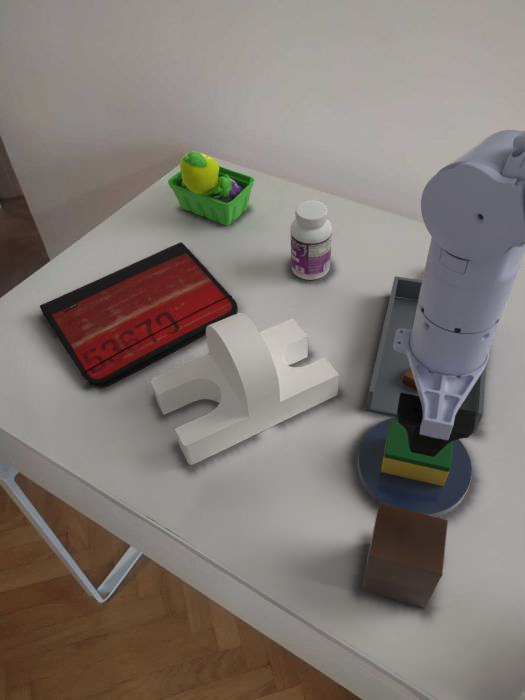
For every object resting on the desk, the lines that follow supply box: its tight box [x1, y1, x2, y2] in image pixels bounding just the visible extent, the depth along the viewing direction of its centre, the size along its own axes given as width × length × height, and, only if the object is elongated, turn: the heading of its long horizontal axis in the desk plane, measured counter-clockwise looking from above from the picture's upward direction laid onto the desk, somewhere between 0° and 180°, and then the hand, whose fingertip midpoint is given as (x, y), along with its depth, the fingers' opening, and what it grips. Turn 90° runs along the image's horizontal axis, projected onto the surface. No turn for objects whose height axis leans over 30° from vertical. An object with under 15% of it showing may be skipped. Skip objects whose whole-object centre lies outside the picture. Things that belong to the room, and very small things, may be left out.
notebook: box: [39, 241, 239, 388], centre depth 73 cm, size 16×2×21 cm
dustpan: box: [365, 275, 487, 434], centre depth 68 cm, size 25×12×3 cm, turn 163°
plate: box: [357, 416, 473, 518], centre depth 57 cm, size 11×11×1 cm
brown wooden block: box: [361, 503, 449, 609], centre depth 48 cm, size 4×6×8 cm
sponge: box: [381, 420, 453, 486], centre depth 56 cm, size 4×6×4 cm, turn 73°
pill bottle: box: [290, 199, 333, 281], centre depth 75 cm, size 5×5×10 cm
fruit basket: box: [167, 150, 255, 227], centre depth 84 cm, size 11×9×11 cm
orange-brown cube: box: [402, 367, 417, 390], centre depth 64 cm, size 2×2×2 cm
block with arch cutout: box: [150, 312, 340, 466], centre depth 60 cm, size 18×10×11 cm, turn 118°
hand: (428, 414), depth 51 cm, fingers open, 7 cm apart
